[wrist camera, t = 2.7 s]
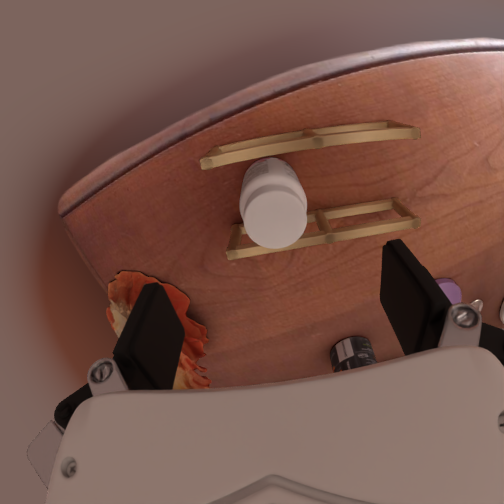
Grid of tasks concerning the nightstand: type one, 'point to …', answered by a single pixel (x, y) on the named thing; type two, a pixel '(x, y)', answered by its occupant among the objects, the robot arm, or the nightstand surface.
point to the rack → (326, 234)
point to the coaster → (450, 289)
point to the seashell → (128, 290)
